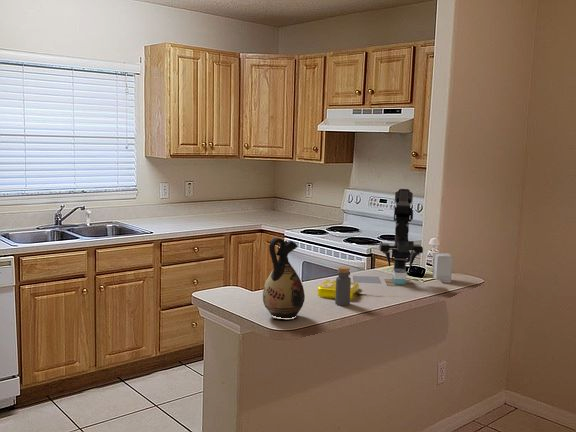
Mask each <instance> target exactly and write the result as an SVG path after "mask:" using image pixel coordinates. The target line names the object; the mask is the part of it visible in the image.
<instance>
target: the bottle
mask: <svg viewBox="0 0 576 432" xmlns="http://www.w3.org/2000/svg"><path fill="white" fill-rule="evenodd" d="M337 270H338V271H337V273H336V275H338V276H337V277H336V278H335V281H336V295H335V299H334V300H335V305H336V304H337V305H336V306H339V305H340V306H341V307H347V306H349V305H350V304H351V303H350V302H351V300H350V287H351V282H352V279H351V277H350V275H351V272H350V270H351V267H349V266H347V265H346V266H345V265H341V266H338V268H337Z"/></svg>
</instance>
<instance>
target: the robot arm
mask: <svg viewBox="0 0 576 432" xmlns="http://www.w3.org/2000/svg"><path fill="white" fill-rule="evenodd" d="M413 198H414V195H413V192H411V191H410V189H409V188H398V190H397V191H395V193H394V203H395V206H394V210H393V221H395V228H394V229H395V231H394V233H395V234H394V245H390V244H389V243H385V242H383V243H382V242H381V243H379V246H378V248H379V249H378V250H379V251H380V252H382V254H385V257H386V261H387V264H388V267H391V262H394V263H393V269H404V270H405V271H406V270H407V269H406V267H407V263H409V268H412V266H413V264H414V261H415V258H416V257H417V256H419V255H420V254H422V253H424V248H423V247H422V245H421V244H415V243H414V242H415V241H414V240H409V231H410V228H409V227H410V223H412V221H413V219H414V210H413V208H412V207H411V205H412V204H413ZM390 251H391V252H390ZM393 269H392V270H391V271H392V273H393ZM406 272H407V271H406Z"/></svg>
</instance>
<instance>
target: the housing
mask: <svg viewBox="0 0 576 432" xmlns="http://www.w3.org/2000/svg"><path fill="white" fill-rule="evenodd" d="M392 270H393V272H392V277H391V279H392V281H393V283H394V285H406V280H407V275H408V274H407V271H405V270H404V269H394V268H392Z"/></svg>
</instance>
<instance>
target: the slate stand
mask: <svg viewBox="0 0 576 432" xmlns="http://www.w3.org/2000/svg"><path fill="white" fill-rule="evenodd" d="M352 282H353V283H358V284H359V283H362V284H363V283H364V284H382V281H381V278H380V277H379V276H372V275H371V276H369V275H368V276H367V275H352Z"/></svg>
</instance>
